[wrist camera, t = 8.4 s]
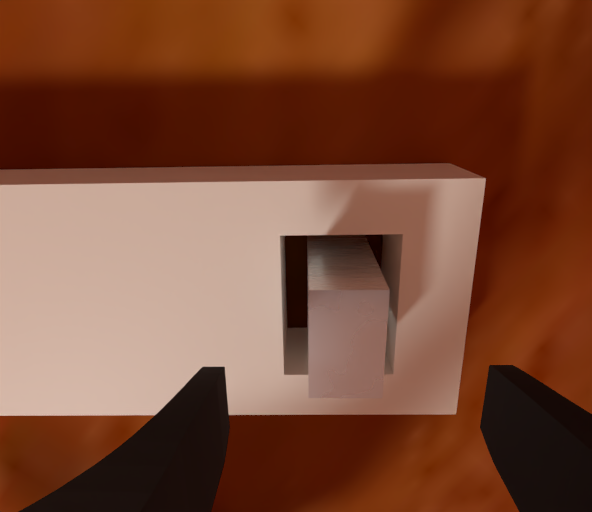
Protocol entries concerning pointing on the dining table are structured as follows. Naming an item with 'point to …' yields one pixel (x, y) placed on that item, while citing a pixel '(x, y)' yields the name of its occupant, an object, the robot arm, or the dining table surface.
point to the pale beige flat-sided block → (222, 283)
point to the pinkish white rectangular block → (345, 318)
